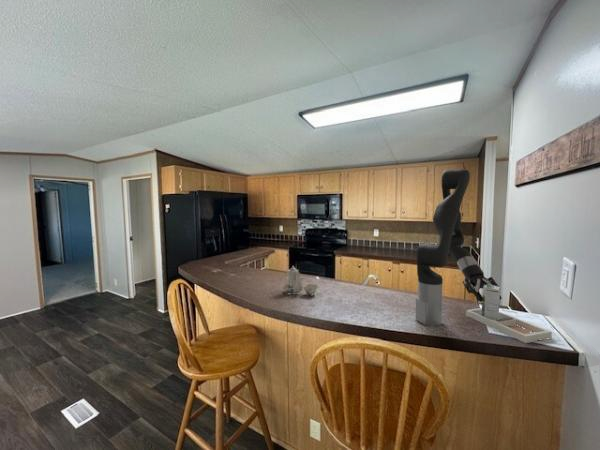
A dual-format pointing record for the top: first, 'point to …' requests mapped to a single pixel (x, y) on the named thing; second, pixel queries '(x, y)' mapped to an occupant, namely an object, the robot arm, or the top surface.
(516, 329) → the two-slot holder
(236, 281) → the top surface
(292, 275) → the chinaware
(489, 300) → the syrup box
